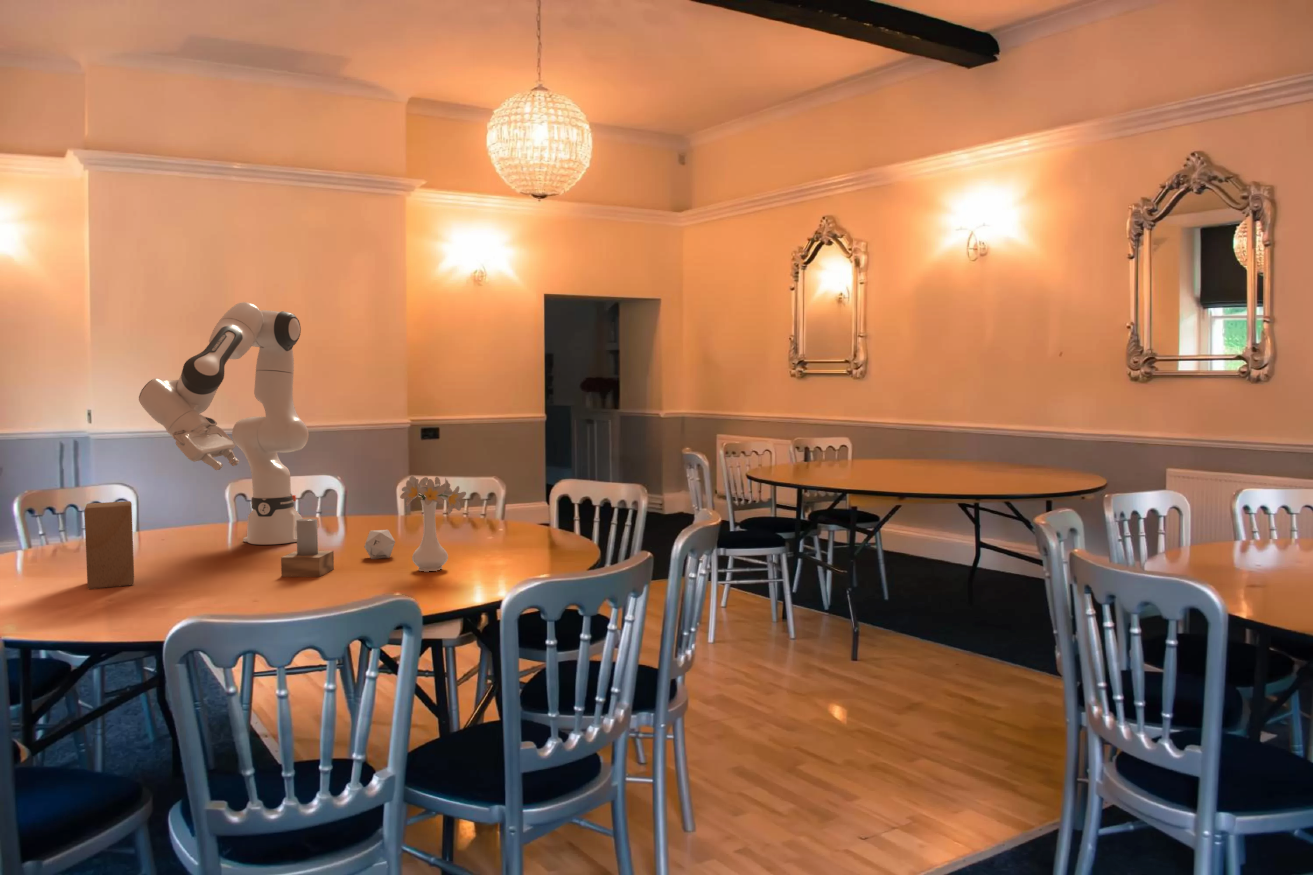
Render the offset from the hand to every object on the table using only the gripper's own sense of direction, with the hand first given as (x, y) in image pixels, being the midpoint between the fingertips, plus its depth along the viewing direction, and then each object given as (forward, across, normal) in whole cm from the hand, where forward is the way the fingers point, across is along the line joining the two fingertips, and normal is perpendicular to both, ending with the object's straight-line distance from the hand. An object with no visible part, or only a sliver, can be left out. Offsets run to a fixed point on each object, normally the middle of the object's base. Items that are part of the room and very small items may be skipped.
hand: (228, 466), depth 260 cm
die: (+44, +19, -3) cm, 48 cm away
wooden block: (+3, -17, +36) cm, 40 cm away
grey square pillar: (+31, -2, +1) cm, 31 cm away
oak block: (+35, -3, +5) cm, 35 cm away
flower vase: (+58, +2, -17) cm, 60 cm away
